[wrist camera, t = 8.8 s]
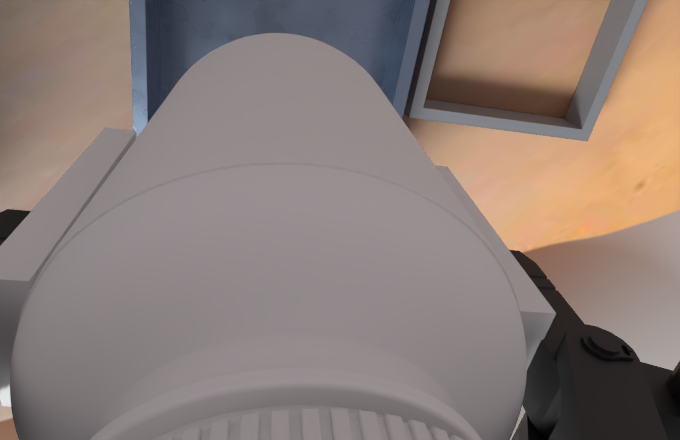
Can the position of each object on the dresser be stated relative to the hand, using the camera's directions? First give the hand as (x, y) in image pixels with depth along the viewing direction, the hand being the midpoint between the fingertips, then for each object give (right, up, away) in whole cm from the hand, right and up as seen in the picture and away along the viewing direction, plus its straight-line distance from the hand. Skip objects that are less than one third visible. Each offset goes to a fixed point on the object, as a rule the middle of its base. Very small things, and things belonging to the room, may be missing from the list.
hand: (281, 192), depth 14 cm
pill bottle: (0, +2, +3) cm, 4 cm away
